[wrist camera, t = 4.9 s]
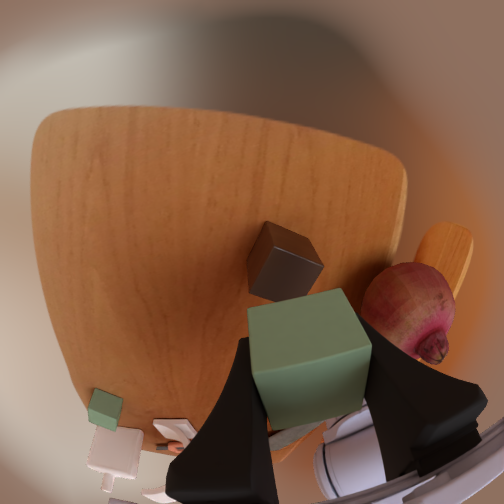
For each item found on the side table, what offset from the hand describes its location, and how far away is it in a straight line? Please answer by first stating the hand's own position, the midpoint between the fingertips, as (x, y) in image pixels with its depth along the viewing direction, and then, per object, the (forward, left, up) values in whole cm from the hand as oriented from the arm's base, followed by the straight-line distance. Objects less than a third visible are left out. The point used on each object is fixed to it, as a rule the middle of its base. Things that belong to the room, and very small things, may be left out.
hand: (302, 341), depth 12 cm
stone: (-13, +23, -9) cm, 28 cm away
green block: (+10, +29, -10) cm, 32 cm away
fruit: (-11, -1, -11) cm, 16 cm away
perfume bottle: (+8, +37, -11) cm, 39 cm away
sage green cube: (0, 0, 0) cm, 0 cm away
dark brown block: (0, 0, -10) cm, 10 cm away
